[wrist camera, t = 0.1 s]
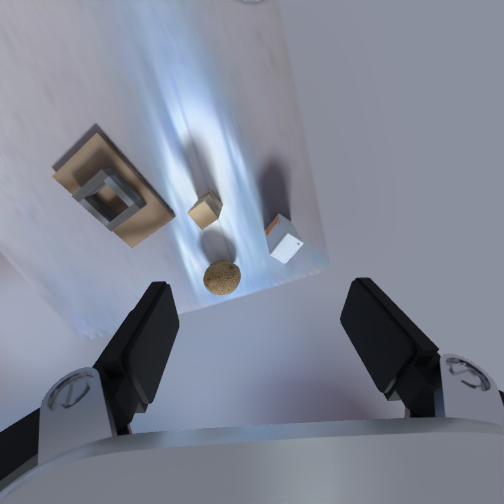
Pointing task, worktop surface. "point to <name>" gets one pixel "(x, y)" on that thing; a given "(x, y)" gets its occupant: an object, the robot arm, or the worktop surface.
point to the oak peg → (206, 210)
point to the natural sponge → (222, 277)
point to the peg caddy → (113, 191)
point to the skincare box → (282, 239)
